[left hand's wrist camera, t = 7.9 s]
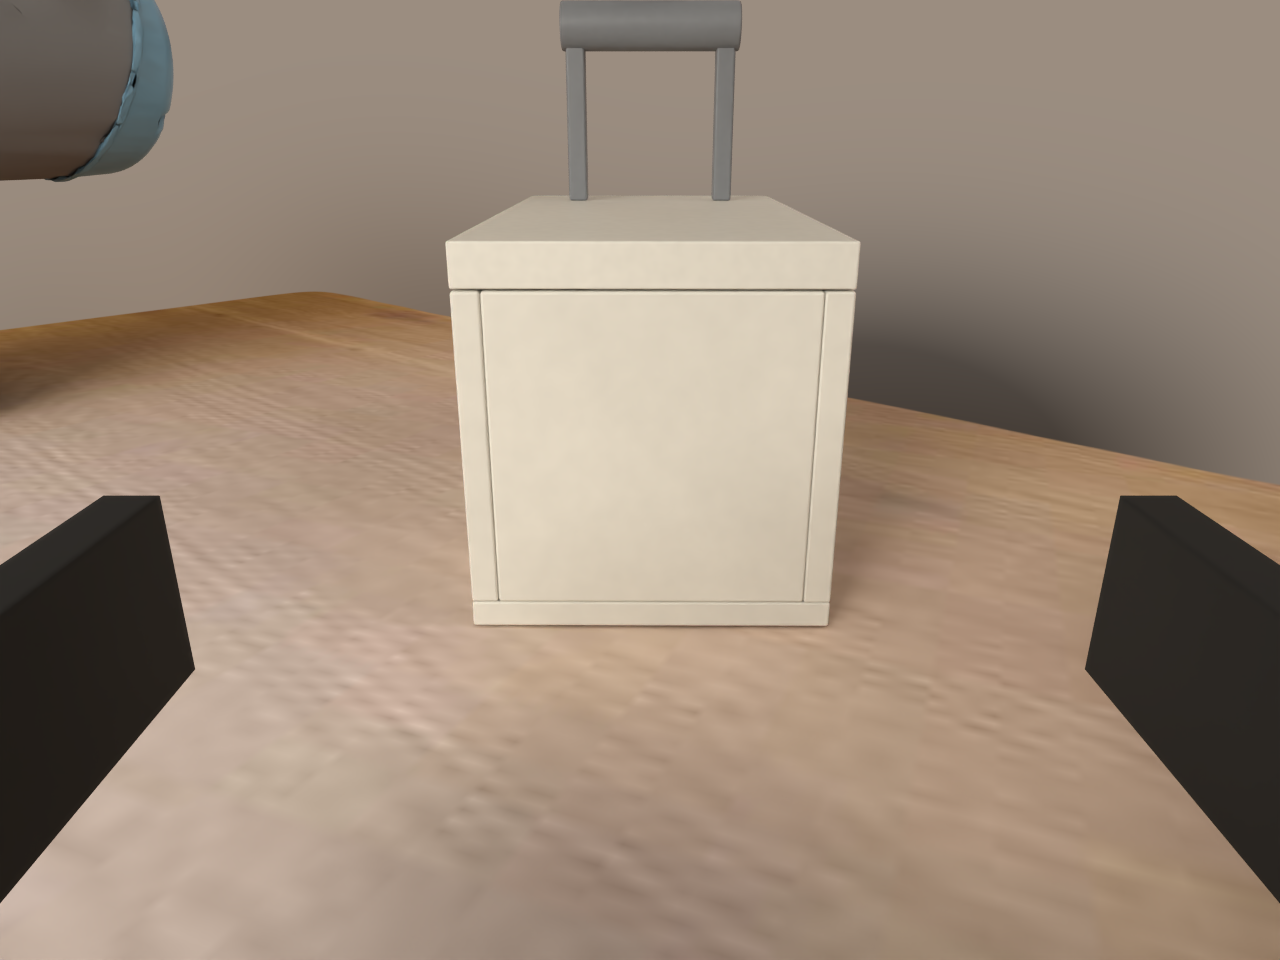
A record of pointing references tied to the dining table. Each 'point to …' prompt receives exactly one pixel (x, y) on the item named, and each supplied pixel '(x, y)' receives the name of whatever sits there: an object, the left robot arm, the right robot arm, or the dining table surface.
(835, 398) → the chest
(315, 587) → the dining table surface
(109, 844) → the dining table surface
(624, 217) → the lid
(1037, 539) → the dining table surface
